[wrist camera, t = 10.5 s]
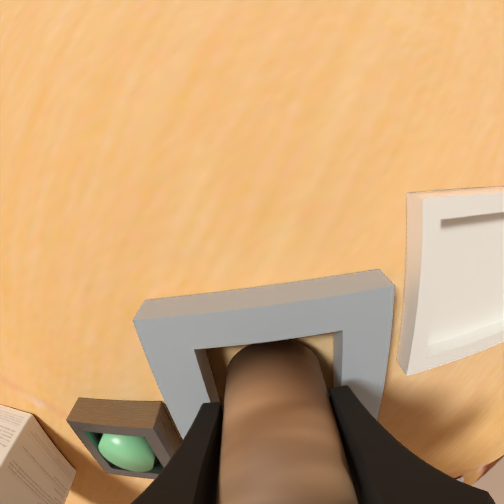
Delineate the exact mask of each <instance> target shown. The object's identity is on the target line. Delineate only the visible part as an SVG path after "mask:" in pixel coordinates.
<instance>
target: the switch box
mask: <svg viewBox="0 0 504 504" xmlns="http://www.w3.org/2000/svg"><path fill="white" fill-rule="evenodd" d="M66 420H67V422H68V423H69V425H70V426H71V428H72V429H73V430H74V432H75V433H76V435H77V436H78V437H79V439H80V440H81V441H82V443H83V444H84V445H85V447H86V448H87V449H88V450H89V452H90V453H91V454H92V456H93V457H94V458H95V459H96V460H97V462H98V463H99V464H100V465H101V466H102V468H103V469H104V470H105V471H106V472H107V473H111V474H117V475H124V476H131V477H139V478H148V479H156V477H157V476H158V475H159V474H160V472H161V471H162V470H163V469H164V467H165V466H166V465H167V463H168V462H169V460H170V459H171V458H172V456H173V455H174V453H175V452H176V450H177V449H178V447H179V446H180V444H181V441H180V439H179V438H178V436H177V434H176V432H175V430H174V428H173V426H172V423H171V421H170V419H169V417H168V415H167V413H166V411H165V409H164V407H163V404H162V402H161V401H119V400H101V399H88V398H78V400H77V401H76V403H75V405H74V407H73V409H72V410H71V412H70V414H69V416H68V418H67V419H66ZM103 433H105V434H114V435H124V436H137V437H145V439H146V440H147V442H148V444H149V445H150V447H151V448H152V450H153V452H154V453H155V455H156V457H155V461H154V465H153V468H152V469H151V470H149V471H146V472H135V471H130V470H126V469H123V468H121V467H118V466H116V465H114V464H113V463H111V462H110V461H108V460H107V459H106V458H105V457H104V456H103V455H102V454H101V453H100V451H99V448H98V446H99V443H100V440H101V438H102V436H103Z"/></svg>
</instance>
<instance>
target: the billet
mask: <svg viewBox="0 0 504 504" xmlns="http://www.w3.org/2000/svg"><path fill="white" fill-rule="evenodd" d="M216 504H358V501H357V497H356V493H355V489H354V485H353V481H352V478H351V474H350V470H349V466H348V463H347V459H346V455H345V451H344V448H343V444H342V440H341V437H340V433H339V430H338V426H337V423H336V419H335V415H334V412H333V408H332V405H331V401H330V398H329V395H328V391H327V388H326V384H325V381H324V377H323V374H322V371H321V367H320V364H319V361H318V359H317V357H316V356H315V354H314V353H313V352H312V351H311V350H310V349H309V348H307V347H306V346H304V345H302V344H300V343H298V342H295V341H292V340H286V339H285V340H278V341H270V342H262V343H254V344H250V345H248V346H246V347H245V348H243V349H241V350H240V351H239V352H238V353H237V354H236V355H235V356H234V357H233V358H232V360H231V361H230V363H229V365H228V368H227V374H226V385H225V397H224V408H223V420H222V432H221V444H220V456H219V469H218V482H217V495H216Z"/></svg>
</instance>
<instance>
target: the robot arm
mask: <svg viewBox="0 0 504 504" xmlns="http://www.w3.org/2000/svg"><path fill="white" fill-rule="evenodd" d="M330 401H331V405H332V408H333V412H334V415H335V419H336V423H337V426H338V430H339V433H340V437H341V440H342V444H343V448H344V451H345V455H346V459H347V463H348V466H349V470H350V474H351V478H352V481H353V485H354V489H355V493H356V497H357V501H358V504H495V502H494V500H493V499H492V497H491V496H490V495H489V493H488V492H487V491H484V490H481V489H478V488H475V487H473V486H470V485H468V484H465V483H463V481H464V477H460V478H458V479H454V478H452V477H450V476H448V475H446V474H445V473H443V472H441V471H439V470H438V469H436V468H434V467H432V466H431V465H429V464H427V463H426V462H425V461H423V460H422V459H420V458H419V457H417V456H416V455H415V454H413V453H412V452H411V451H409V450H408V449H407V448H406V447H404V446H403V445H402V444H401V443H400V442H398V441H397V440H396V439H395V438H394V437H393V436H392V435H391V434H390V433H389V432H388V431H387V430H386V429H385V428H384V427H383V426H382V425H381V424H380V423H379V422H378V421H377V420H376V419H375V418H374V417H373V416H372V415H371V414H370V413H369V411H368V410H367V409H366V408H365V407H364V405H363V404H362V403H361V402H360V401H359V399H358V398H357V397H356V395H355V394H354V393H353V391H352V390H351V389H350V387H349V386H347V385H344V386H339V387H334V388H330ZM222 420H223V409H222V406H221V403H220V402H210V403H203V404H202V405H201V407H200V409H199V411H198V413H197V415H196V417H195V419H194V421H193V423H192V425H191V427H190V429H189V430H188V432H187V434H186V436H185V437H184V439H183V441H182V442H181V444H180V446H179V447H178V449H177V450H176V452H175V453H174V455H173V456H172V458H171V459H170V460H169V462H168V463H167V465H166V466H165V467H164V469H163V470H162V471H161V472H160V474H159V475H158V476H157V477H156V479H155V480H154V481H153V482H152V483H151V484H150V485H149V486H148V488H147V489H146V490H145V491H144V492H143V493H142V494H141V495H140V496H139V497H138V498H137V499H135V500H134V501H133V502H132V503H131V504H216V495H217V482H218V469H219V456H220V444H221V432H222Z"/></svg>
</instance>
